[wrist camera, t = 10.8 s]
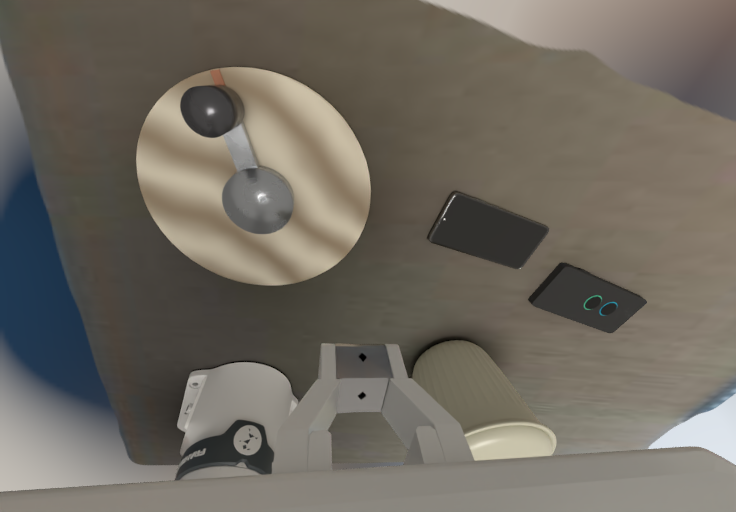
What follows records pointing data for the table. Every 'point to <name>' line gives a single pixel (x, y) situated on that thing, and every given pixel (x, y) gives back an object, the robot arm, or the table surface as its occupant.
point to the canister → (482, 402)
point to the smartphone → (486, 231)
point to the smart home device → (586, 298)
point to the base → (274, 150)
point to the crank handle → (239, 161)
